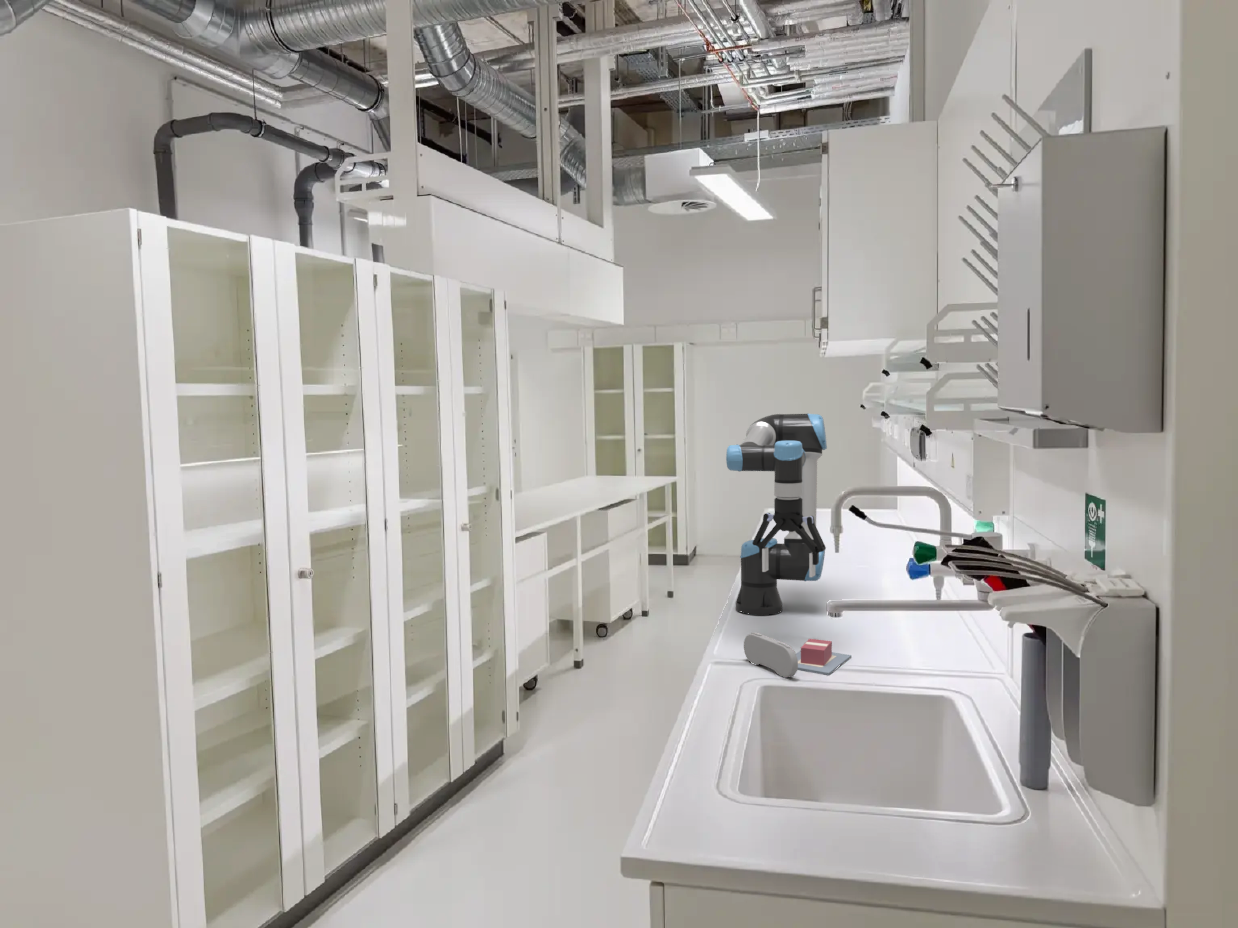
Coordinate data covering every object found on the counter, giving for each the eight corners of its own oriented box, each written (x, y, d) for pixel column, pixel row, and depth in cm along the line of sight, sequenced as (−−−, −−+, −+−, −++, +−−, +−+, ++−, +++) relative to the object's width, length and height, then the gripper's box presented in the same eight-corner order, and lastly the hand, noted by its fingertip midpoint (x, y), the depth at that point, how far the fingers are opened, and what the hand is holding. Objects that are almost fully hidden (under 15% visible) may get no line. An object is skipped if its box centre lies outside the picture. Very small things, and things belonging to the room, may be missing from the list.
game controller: (799, 680, 204) (799, 647, 203) (791, 681, 203) (791, 648, 202) (750, 659, 221) (750, 628, 220) (743, 660, 220) (743, 629, 219)
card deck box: (800, 662, 215) (800, 647, 214) (809, 653, 223) (809, 638, 222) (824, 665, 212) (824, 650, 212) (831, 656, 220) (831, 640, 220)
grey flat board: (804, 649, 228) (804, 647, 228) (851, 657, 221) (851, 654, 221) (780, 666, 214) (780, 664, 214) (828, 675, 207) (828, 672, 207)
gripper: (837, 498, 223) (837, 575, 225) (751, 492, 236) (751, 565, 239) (828, 502, 217) (828, 581, 219) (740, 496, 230) (741, 571, 232)
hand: (788, 573), depth 229 cm, fingers open, 13 cm apart
